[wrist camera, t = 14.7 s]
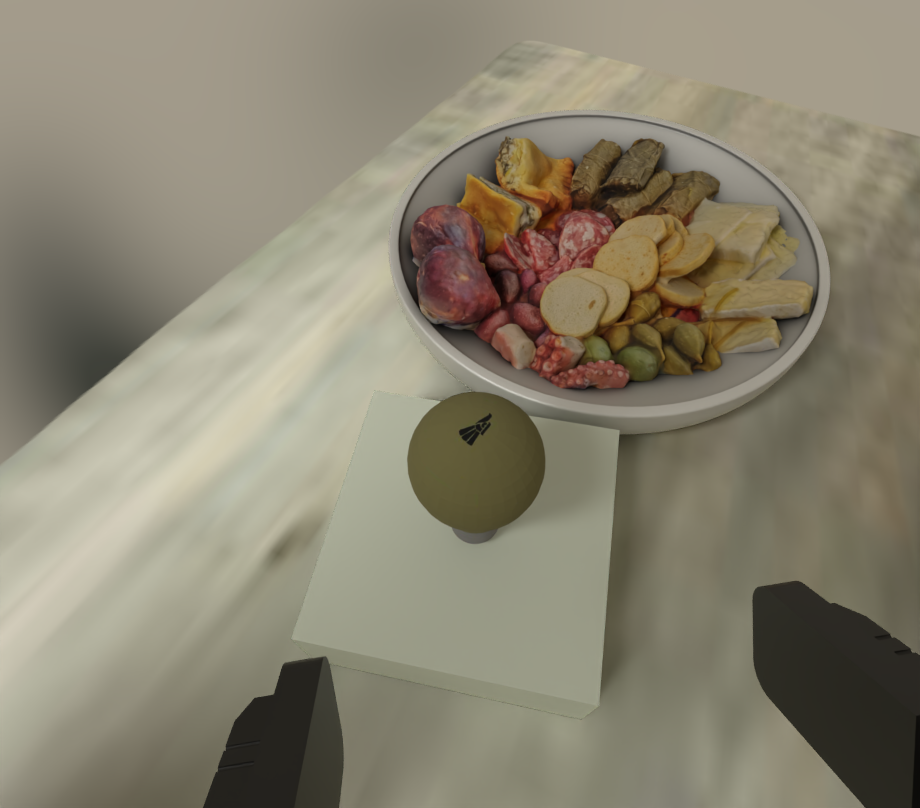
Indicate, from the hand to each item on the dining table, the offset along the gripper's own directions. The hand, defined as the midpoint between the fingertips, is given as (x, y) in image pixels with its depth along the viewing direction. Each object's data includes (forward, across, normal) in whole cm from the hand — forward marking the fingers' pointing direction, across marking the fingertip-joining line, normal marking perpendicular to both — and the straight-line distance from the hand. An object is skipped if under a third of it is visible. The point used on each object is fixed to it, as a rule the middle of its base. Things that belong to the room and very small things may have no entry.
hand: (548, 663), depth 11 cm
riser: (+23, 0, +9) cm, 24 cm away
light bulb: (+19, 0, +6) cm, 20 cm away
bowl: (+37, -13, -5) cm, 39 cm away
